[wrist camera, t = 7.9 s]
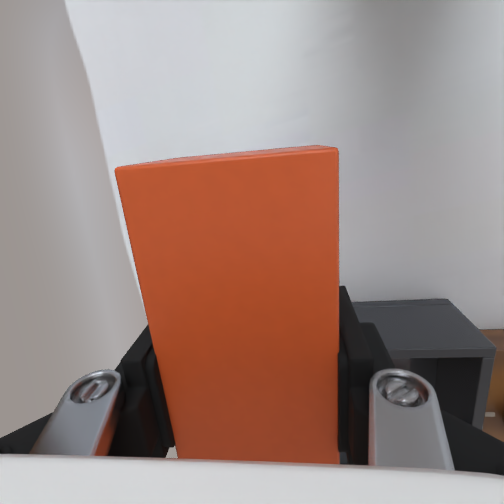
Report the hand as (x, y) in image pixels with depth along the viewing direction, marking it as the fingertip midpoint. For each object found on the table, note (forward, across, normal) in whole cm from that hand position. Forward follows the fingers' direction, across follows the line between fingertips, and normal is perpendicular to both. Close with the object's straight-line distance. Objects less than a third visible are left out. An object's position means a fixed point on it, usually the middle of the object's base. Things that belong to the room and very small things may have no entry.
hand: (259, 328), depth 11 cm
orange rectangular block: (+1, 0, 0) cm, 1 cm away
